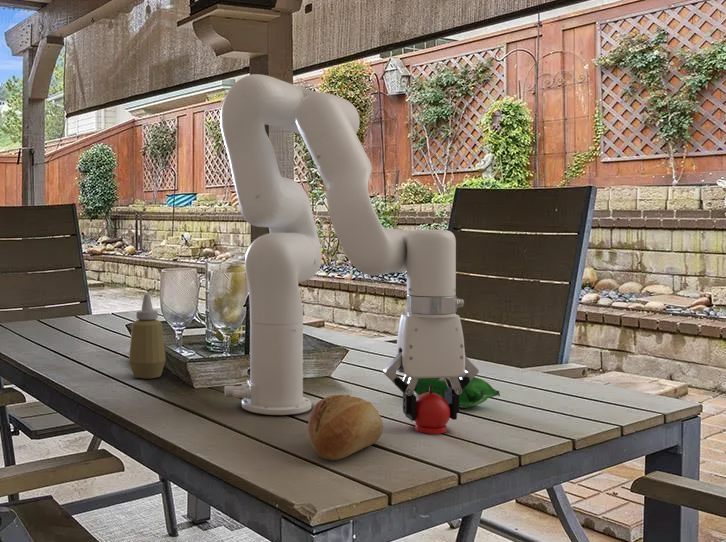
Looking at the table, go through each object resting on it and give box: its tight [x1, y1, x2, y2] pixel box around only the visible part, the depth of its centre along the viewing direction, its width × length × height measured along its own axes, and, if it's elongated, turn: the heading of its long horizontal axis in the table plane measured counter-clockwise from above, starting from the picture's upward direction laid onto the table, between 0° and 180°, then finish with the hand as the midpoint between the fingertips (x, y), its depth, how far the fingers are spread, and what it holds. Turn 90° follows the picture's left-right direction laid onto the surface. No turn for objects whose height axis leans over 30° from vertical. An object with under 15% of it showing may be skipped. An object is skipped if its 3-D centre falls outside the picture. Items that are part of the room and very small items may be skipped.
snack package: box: [414, 376, 501, 409], centre depth 139 cm, size 7×16×5 cm, turn 35°
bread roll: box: [307, 394, 384, 461], centre depth 110 cm, size 10×15×8 cm, turn 146°
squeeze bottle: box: [128, 293, 167, 380], centre depth 164 cm, size 8×8×18 cm
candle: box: [414, 386, 451, 435], centre depth 121 cm, size 6×6×7 cm
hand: (430, 416), depth 121 cm, fingers closed on candle, 6 cm apart
